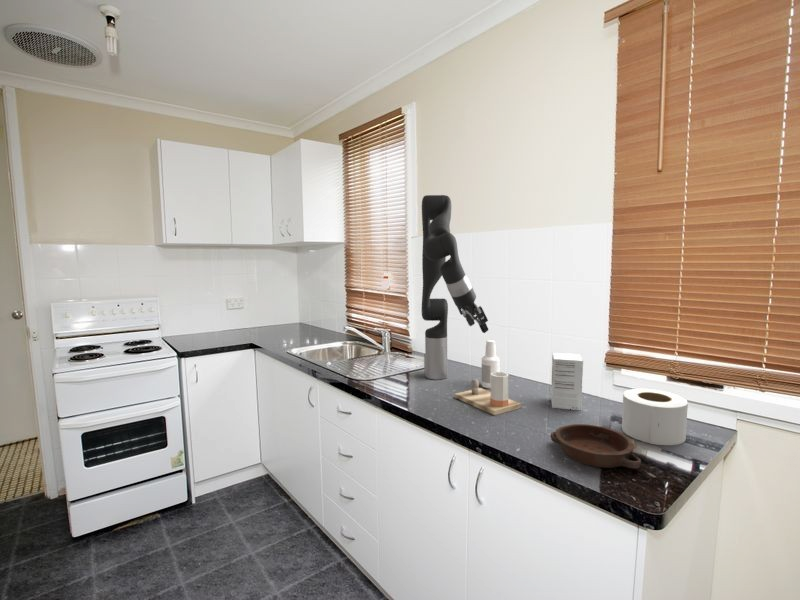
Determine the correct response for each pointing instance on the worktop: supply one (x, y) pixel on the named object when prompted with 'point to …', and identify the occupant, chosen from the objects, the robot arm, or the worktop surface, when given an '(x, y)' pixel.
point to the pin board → (484, 400)
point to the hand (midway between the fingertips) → (478, 328)
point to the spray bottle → (489, 363)
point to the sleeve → (499, 389)
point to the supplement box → (566, 381)
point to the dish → (596, 446)
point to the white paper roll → (654, 416)
